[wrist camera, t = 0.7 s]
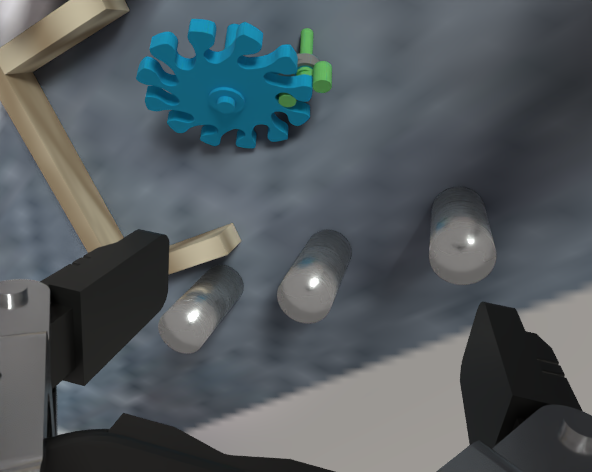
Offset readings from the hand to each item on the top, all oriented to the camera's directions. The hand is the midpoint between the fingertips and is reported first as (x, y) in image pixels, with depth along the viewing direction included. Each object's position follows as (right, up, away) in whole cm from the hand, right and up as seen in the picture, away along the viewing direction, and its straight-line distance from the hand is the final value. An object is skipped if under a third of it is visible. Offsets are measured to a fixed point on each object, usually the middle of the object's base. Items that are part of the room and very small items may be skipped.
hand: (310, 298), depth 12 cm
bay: (-12, +8, +23) cm, 27 cm away
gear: (-3, +11, +19) cm, 22 cm away
